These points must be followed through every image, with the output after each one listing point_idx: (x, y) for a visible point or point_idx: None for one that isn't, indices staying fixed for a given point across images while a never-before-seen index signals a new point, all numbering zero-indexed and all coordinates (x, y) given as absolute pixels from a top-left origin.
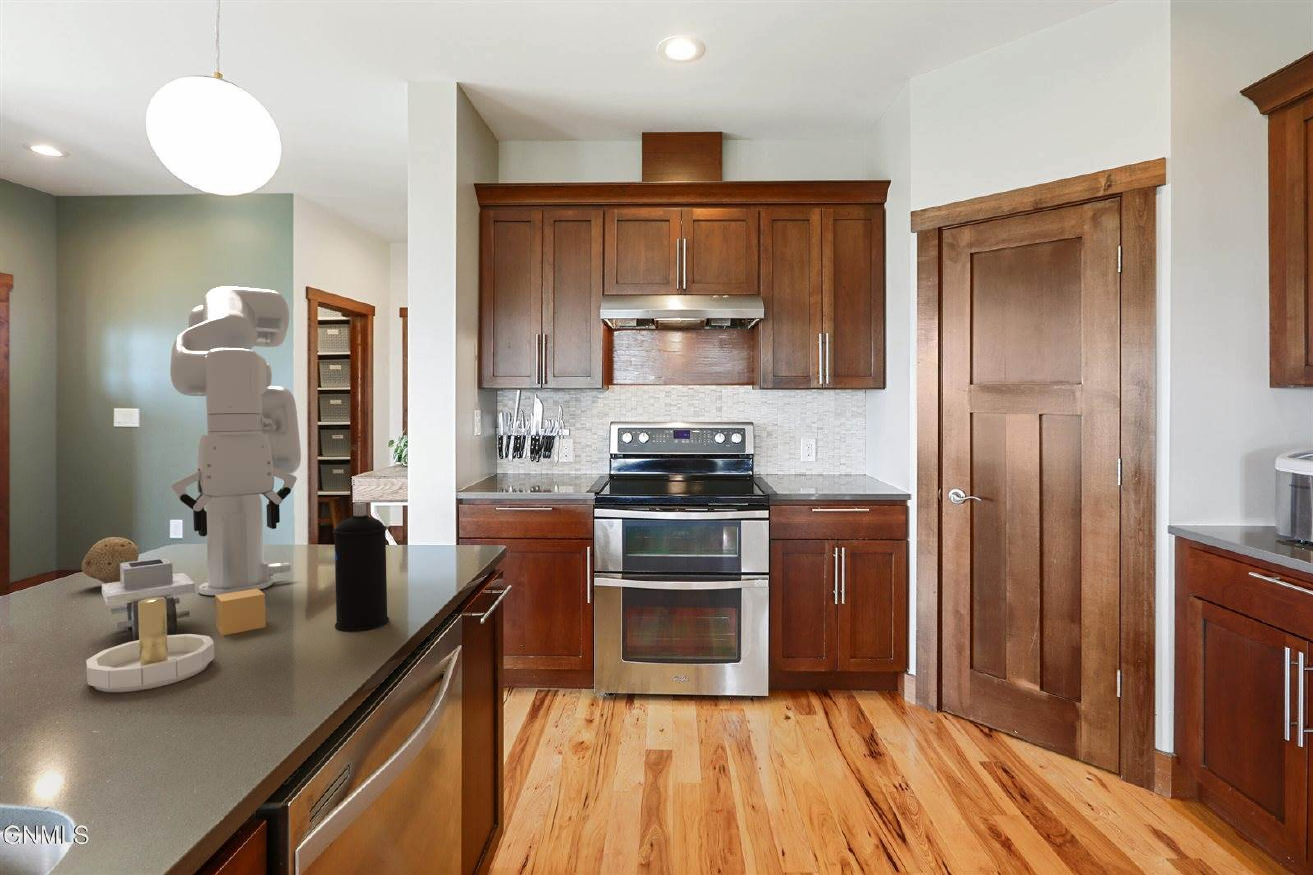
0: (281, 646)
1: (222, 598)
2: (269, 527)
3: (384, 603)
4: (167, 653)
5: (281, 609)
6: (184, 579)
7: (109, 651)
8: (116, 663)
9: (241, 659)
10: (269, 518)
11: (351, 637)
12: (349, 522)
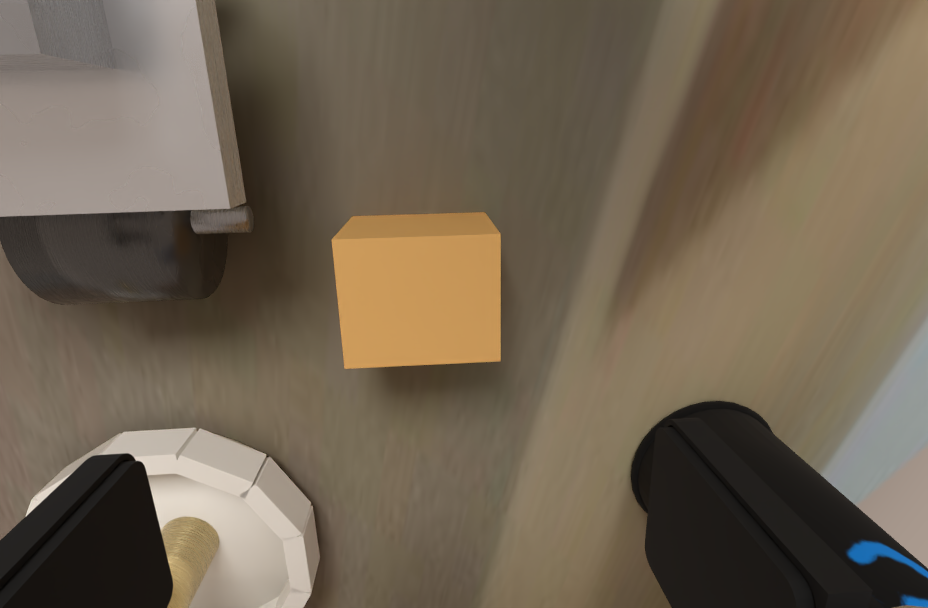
0: (477, 517)
1: (352, 323)
2: (650, 498)
3: None
4: (207, 569)
5: (586, 113)
6: (175, 57)
7: None
8: None
9: (379, 552)
10: (687, 571)
11: (630, 550)
12: None
